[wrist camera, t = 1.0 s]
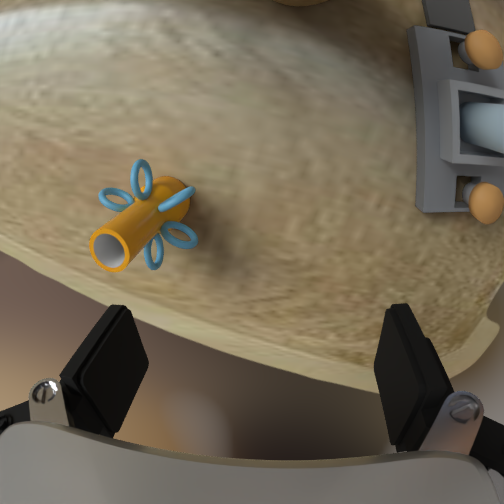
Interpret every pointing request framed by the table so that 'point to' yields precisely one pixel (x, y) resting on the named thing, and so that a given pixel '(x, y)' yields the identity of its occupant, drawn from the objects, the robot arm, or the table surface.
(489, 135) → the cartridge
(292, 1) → the plant pot
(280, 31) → the table surface
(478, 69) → the housing
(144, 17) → the table surface
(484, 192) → the orange rounded knob
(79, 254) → the table surface
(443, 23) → the mat
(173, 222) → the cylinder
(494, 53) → the light orange ball
